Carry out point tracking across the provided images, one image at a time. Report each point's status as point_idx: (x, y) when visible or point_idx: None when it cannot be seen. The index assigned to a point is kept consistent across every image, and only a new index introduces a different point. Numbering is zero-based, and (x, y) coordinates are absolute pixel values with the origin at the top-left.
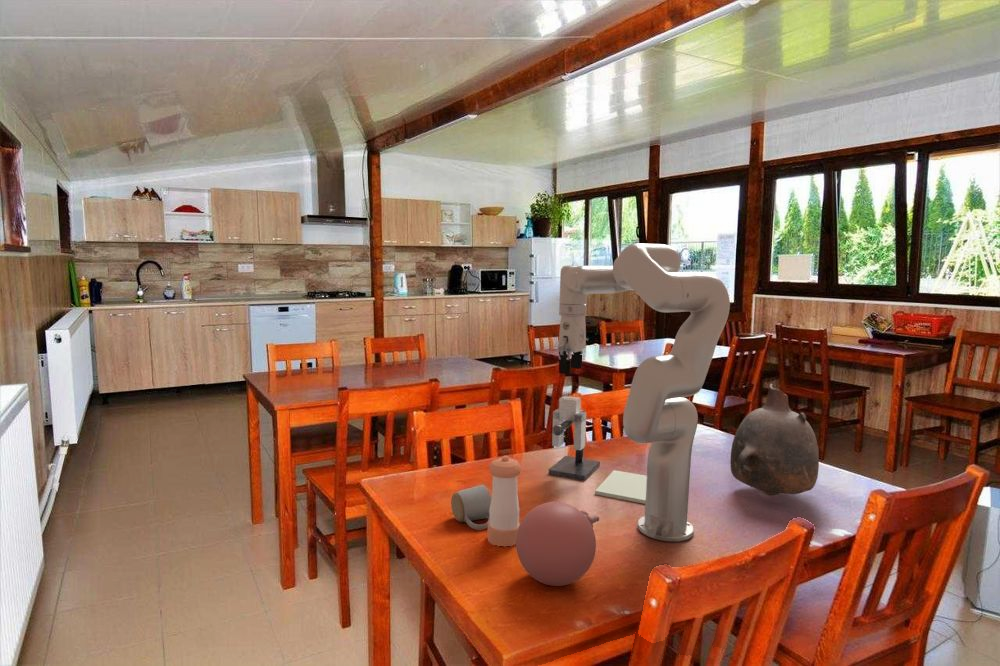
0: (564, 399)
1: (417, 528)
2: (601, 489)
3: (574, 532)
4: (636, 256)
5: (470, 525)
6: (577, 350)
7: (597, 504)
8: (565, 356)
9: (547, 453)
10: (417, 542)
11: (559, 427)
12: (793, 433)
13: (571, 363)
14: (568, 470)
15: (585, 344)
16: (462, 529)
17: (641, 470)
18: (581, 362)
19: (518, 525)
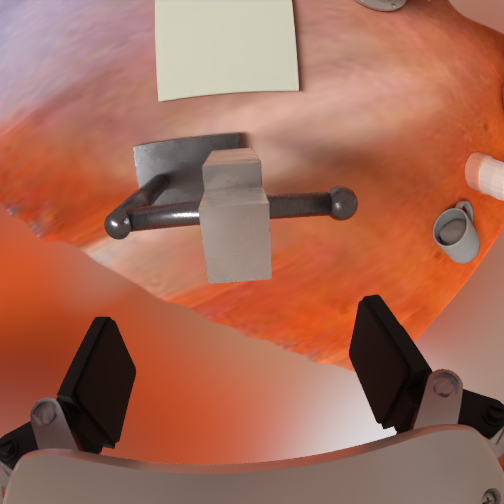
0: (270, 256)
1: (471, 263)
2: (286, 81)
3: None
4: None
5: (469, 217)
6: (409, 449)
7: (339, 75)
8: (474, 396)
9: (136, 266)
10: (490, 245)
11: (354, 198)
12: None
13: (130, 389)
14: None
15: (23, 481)
16: None
17: (113, 68)
18: (91, 346)
19: (488, 158)
